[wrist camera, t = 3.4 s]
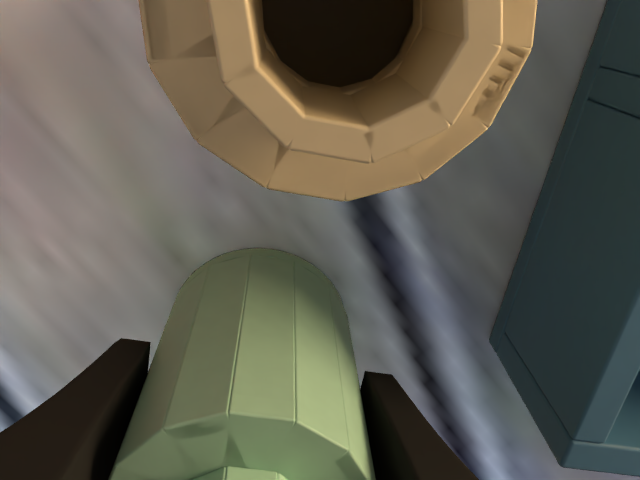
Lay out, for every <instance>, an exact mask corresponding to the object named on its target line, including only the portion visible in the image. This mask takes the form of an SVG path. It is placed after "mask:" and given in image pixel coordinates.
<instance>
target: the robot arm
mask: <svg viewBox="0 0 640 480" xmlns="http://www.w3.org/2000/svg"><path fill="white" fill-rule="evenodd" d="M150 343H151V342H145V341H138V340H130V339H123V338H121V339H119V340H118V341H116V342H115V343H114V344H113V345H112V346H111V347H110V348H109V349H108V350H106V351H105V352H104V353H103V354H102V355H101V356H100V357H99V358H98V359H97V360H95V361H94V362H93V363H92V364H91V365H90V366H89V367H87V368H86V369H85V370H84V371H83V372H82V373H80V374H79V375H78V376H77V377H76V378H74V379H73V380H72V381H71V382H69V383H68V384H67V385H66V386H65V387H63V388H62V389H61V390H60V391H58V392H57V393H56V394H55V395H53V396H52V397H51V398H49V399H48V400H46V401H45V402H44V403H42V404H41V405H40V406H38V407H37V408H36V409H34V410H33V411H31V412H30V413H29V414H27V415H26V416H25V417H23V418H22V419H20V420H19V421H17V422H16V423H14V424H13V425H11V426H10V427H8V428H7V429H5V430H3V431H2V432H0V480H108V479H109V476H110V474H111V471H112V468H113V465H114V463H115V460H116V457H117V455H118V452H119V449H120V447H121V444H122V441H123V438H124V436H125V433H126V430H127V428H128V425H129V422H130V420H131V417H132V414H133V412H134V409H135V407H136V404H137V401H138V398H139V396H140V393H141V390H142V388H143V385H144V382H145V380H146V377H147V374H148V364H149V354H150ZM360 391H361V397H362V403H363V409H364V414H365V420H366V426H367V432H368V437H369V443H370V449H371V455H372V460H373V466H374V472H375V478H376V480H479V479H478V478H477V477H476V476H475V475H474V474H473V473H472V472H471V471H470V470H469V469H468V468H467V467H466V466H465V464H464V463H463V462H462V461H461V460H460V459H459V458H458V457H457V456H456V455H455V454H454V452H453V451H452V450H451V449H450V448H449V447H448V446H447V444H446V443H445V442H444V441H443V440H442V438H441V437H440V436H439V435H438V434H437V432H436V431H435V430H434V429H433V427H432V426H431V425H430V424H429V423H428V421H427V420H426V419H425V417H424V416H423V415H422V414H421V412H420V411H419V410H418V408H417V407H416V406H415V404H414V403H413V402H412V400H411V399H410V398H409V396H408V395H407V394H406V392H405V391H404V390H403V388H402V387H401V386H400V384H399V383H398V382H397V380H396V379H395V378H394V377H393V375H391V374H383V373H376V372H368V371H365V373H364V377H363V381H362V385H361V388H360Z"/></svg>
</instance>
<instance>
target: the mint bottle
mask: <svg viewBox="0 0 640 480" xmlns="http://www.w3.org/2000/svg"><path fill="white" fill-rule="evenodd" d="M108 480H376V478H375V472H374V466H373V460H372V455H371V449H370V443H369V437H368V432H367V426H366V420H365V414H364V409H363V403H362V397H361V391H360V386H359V380H358V374H357V368H356V363H355V357H354V351H353V345H352V340H351V334H350V328H349V322H348V317H347V314H346V312H345V310H344V307H343V303H342V300H341V298H340V296H339V294H338V292H337V290H336V289H335V287H334V286H333V284H332V283H331V282H330V280H329V279H328V278H327V277H326V276H325V275H324V274H323V273H322V272H321V271H320V270H319V269H317V268H316V267H315V266H313V265H312V264H310V263H309V262H307V261H305V260H303V259H301V258H299V257H297V256H295V255H292V254H289V253H286V252H282V251H278V250H273V249H263V248H255V249H243V250H237V251H233V252H229V253H226V254H223V255H221V256H218V257H216V258H214V259H212V260H210V261H209V262H207V263H205V264H204V265H202V266H201V267H200V268H199V269H197V270H196V271H195V272H194V273H193V274H192V275H191V276H190V277H189V278H188V279H187V280H186V282H185V283H184V285H183V286H182V287H181V289H180V291H179V292H178V295H177V297H176V300H175V302H174V305H173V307H172V310H171V313H170V315H169V318H168V320H167V323H166V325H165V328H164V331H163V333H162V336H161V339H160V342H159V344H158V347H157V350H156V352H155V355H154V358H153V360H152V363H151V366H150V368H149V371H148V374H147V377H146V380H145V382H144V385H143V388H142V390H141V393H140V396H139V398H138V401H137V404H136V407H135V409H134V412H133V414H132V417H131V420H130V422H129V425H128V428H127V430H126V433H125V436H124V438H123V441H122V444H121V447H120V449H119V452H118V455H117V457H116V460H115V463H114V465H113V468H112V471H111V474H110V476H109V479H108Z"/></svg>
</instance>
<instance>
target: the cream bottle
mask: <svg viewBox="0 0 640 480" xmlns="http://www.w3.org/2000/svg"><path fill="white" fill-rule="evenodd" d="M138 1H139V8H140V15H141V22H142V29H143V36H144V43H145V49H146V56H147V62H148V63H149V64H150V65H149V66H150V69H151V71H152V72H153V74H154V76H155V77H156V79H157V80H158V82H159V84H160V85H161V87H162V88H163V90H164V92H165V93H166V95H167V96H168V98H169V100H170V101H171V103H172V105H173V106H174V108H175V109H176V111H177V113H178V114H179V116H180V117H181V119H182V121H183V122H184V124H185V125H186V127H187V129H188V130H189V132H190V133H191V135H192V137H193V138H194V139H195V140H197V142H198V143H199V144H200V145H201V146H203V147H204V148H206V149H207V150H209V151H210V152H212V153H213V154H215V155H216V156H217V157H219V158H220V159H222V160H223V161H225V162H226V163H228V164H229V165H231V166H232V167H234V168H235V169H237V170H238V171H240V172H241V173H243V174H244V175H246V176H247V177H249V178H250V179H252V180H253V181H255V182H256V183H258V184H259V185H261V186H262V187H266V188H267V189H270V190H276V191H282V192H288V193H294V194H300V195H306V196H312V197H318V198H324V199H329V200H335V201H344V200H345V201H351V200H354V199H358V198H362V197H366V196H369V195H373V194H377V193H381V192H384V191H388V190H392V189H396V188H400V187H403V186H407V185H411V184H415V183H418V182H421V181H422V180H425V179H426V178H428V177H429V176H430V175H431V174H433V173H434V172H435V171H436V170H438V169H439V168H440V167H441V166H443V165H444V164H445V163H446V162H448V161H449V160H450V159H451V158H453V157H454V156H455V155H456V154H458V153H459V152H460V151H461V150H463V149H464V148H465V147H466V146H468V145H469V144H470V143H471V142H473V141H474V140H475V139H477V138H478V137H479V136H480V135H482V134H483V133H484V132H485V131H486V130H487V127H490V126H491V124H492V122H493V120H494V118H495V117H496V115H497V113H498V111H499V109H500V107H501V106H502V104H503V102H504V100H505V98H506V96H507V95H508V93H509V91H510V89H511V87H512V85H513V84H514V82H515V80H516V78H517V76H518V74H519V73H520V71H521V69H522V67H523V65H524V63H525V62H526V60H527V58H528V56H529V54H530V52H531V49H530V48H532V46H533V38H534V28H535V18H536V9H537V0H138Z"/></svg>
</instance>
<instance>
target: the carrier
mask: <svg viewBox="0 0 640 480" xmlns="http://www.w3.org/2000/svg"><path fill="white" fill-rule="evenodd" d="M489 342H490V344H491V345H492V347H493V349H494V351H495V352H497V356H498V357H499V359H500V361H501V363H502V364H503V366H504V368H505V370H506V371H507V373H508V375H509V377H510V379H511V380H512V382H513V384H514V386H515V387H516V389H517V391H518V393H519V394H520V396H521V398H522V400H523V402H524V403H525V405H526V407H527V409H528V410H529V412H530V414H531V416H532V417H533V419H534V421H535V423H536V425H537V426H538V428H539V430H540V432H541V433H542V435H543V437H544V439H545V440H546V442H547V444H548V446H549V448H550V449H551V451H552V453H553V455H554V456H555V458H556V460H557V462H558V463H559V465H560V466H561V467H564V468H572V469H580V470H589V471H597V472H606V473H614V474H622V475H631V476H639V477H640V0H608V2H607V4H606V7H605V10H604V13H603V16H602V19H601V22H600V24H599V27H598V30H597V33H596V36H595V39H594V42H593V44H592V47H591V50H590V53H589V56H588V59H587V62H586V64H585V67H584V70H583V73H582V76H581V79H580V82H579V84H578V87H577V90H576V93H575V96H574V99H573V102H572V104H571V107H570V110H569V113H568V116H567V119H566V122H565V125H564V127H563V130H562V133H561V136H560V139H559V142H558V145H557V147H556V150H555V153H554V156H553V159H552V162H551V165H550V167H549V170H548V173H547V176H546V179H545V182H544V185H543V187H542V190H541V193H540V196H539V199H538V202H537V205H536V207H535V210H534V213H533V216H532V219H531V222H530V225H529V228H528V230H527V233H526V236H525V239H524V242H523V245H522V248H521V250H520V253H519V256H518V259H517V262H516V265H515V268H514V270H513V273H512V276H511V279H510V282H509V285H508V288H507V290H506V293H505V296H504V299H503V302H502V305H501V308H500V310H499V313H498V316H497V319H496V322H495V325H494V328H493V331H492V333H491V336H490V339H489Z"/></svg>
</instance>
